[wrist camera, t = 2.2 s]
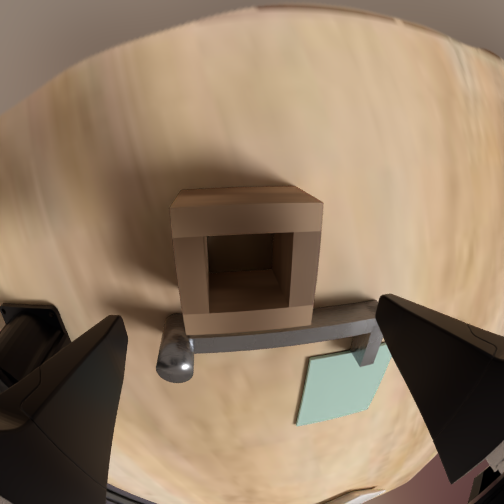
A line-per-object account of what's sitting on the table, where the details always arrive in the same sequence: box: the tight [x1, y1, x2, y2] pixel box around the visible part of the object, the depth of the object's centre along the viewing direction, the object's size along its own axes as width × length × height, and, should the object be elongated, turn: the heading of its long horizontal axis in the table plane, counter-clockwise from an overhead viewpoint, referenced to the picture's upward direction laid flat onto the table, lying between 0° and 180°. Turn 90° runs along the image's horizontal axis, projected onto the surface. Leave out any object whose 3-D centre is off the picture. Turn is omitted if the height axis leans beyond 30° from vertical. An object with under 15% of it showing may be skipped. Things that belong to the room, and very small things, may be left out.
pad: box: [296, 342, 392, 426], centre depth 22 cm, size 8×10×1 cm
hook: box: [156, 300, 383, 383], centre depth 16 cm, size 15×5×4 cm, turn 90°
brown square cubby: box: [170, 186, 324, 335], centre depth 13 cm, size 6×6×4 cm
